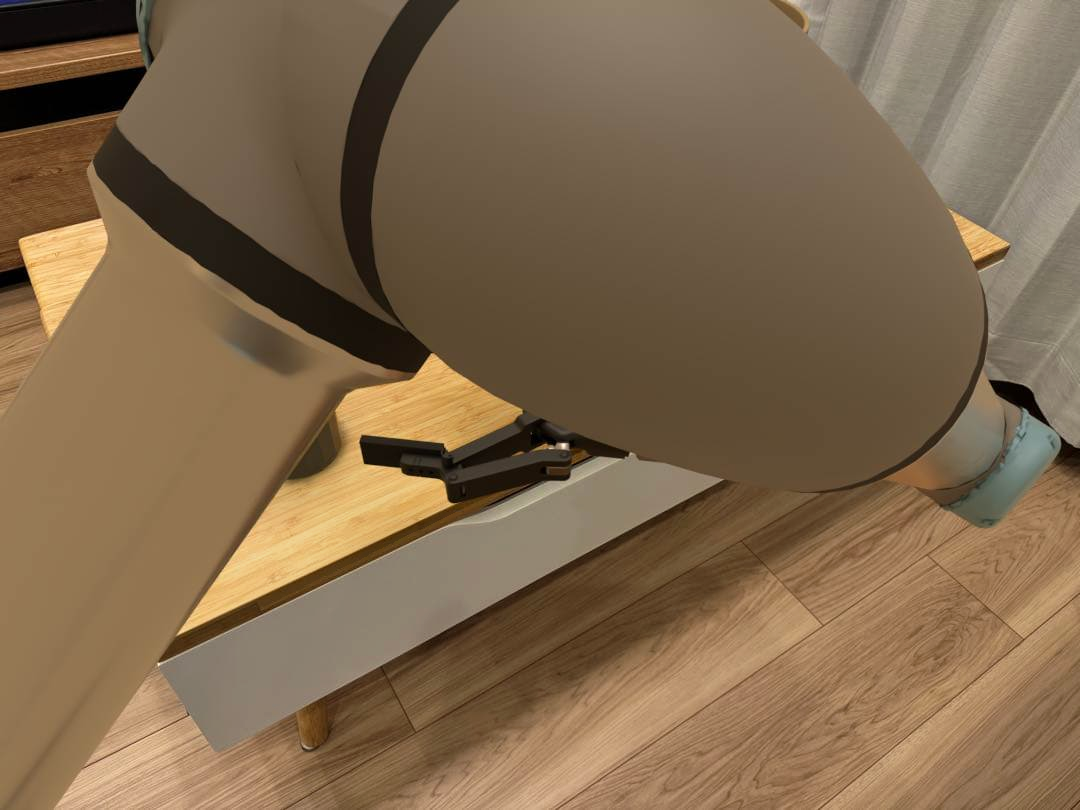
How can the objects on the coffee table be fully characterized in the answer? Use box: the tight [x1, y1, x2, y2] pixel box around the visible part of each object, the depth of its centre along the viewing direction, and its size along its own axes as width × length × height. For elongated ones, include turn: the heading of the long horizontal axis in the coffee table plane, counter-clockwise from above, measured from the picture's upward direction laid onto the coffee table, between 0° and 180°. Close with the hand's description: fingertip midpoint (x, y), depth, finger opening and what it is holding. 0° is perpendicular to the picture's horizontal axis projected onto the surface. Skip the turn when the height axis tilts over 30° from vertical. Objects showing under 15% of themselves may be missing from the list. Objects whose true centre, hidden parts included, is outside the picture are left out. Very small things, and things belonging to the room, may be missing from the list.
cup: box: [286, 411, 342, 481], centre depth 69 cm, size 8×8×11 cm
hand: (384, 389), depth 66 cm, fingers open, 13 cm apart
